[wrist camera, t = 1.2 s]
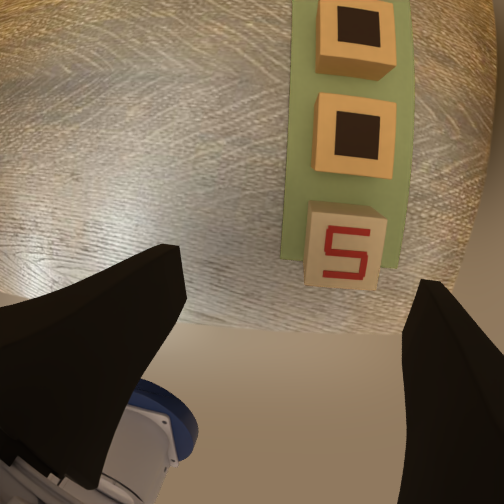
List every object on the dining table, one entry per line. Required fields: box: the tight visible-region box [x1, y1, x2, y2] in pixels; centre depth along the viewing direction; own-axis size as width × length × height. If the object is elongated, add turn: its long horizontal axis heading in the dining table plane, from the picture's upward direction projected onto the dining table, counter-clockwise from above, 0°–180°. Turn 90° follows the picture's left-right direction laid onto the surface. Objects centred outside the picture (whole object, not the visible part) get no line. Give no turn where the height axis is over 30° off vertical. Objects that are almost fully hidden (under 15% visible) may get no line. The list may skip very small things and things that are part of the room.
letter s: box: [303, 200, 388, 291], centre depth 18 cm, size 4×4×4 cm
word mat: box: [280, 0, 415, 269], centre depth 15 cm, size 22×8×5 cm, turn 177°
